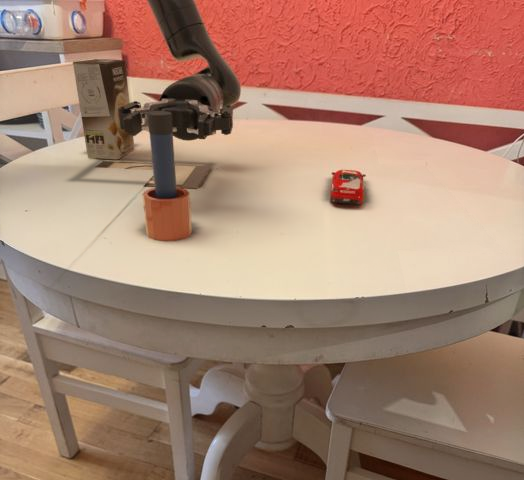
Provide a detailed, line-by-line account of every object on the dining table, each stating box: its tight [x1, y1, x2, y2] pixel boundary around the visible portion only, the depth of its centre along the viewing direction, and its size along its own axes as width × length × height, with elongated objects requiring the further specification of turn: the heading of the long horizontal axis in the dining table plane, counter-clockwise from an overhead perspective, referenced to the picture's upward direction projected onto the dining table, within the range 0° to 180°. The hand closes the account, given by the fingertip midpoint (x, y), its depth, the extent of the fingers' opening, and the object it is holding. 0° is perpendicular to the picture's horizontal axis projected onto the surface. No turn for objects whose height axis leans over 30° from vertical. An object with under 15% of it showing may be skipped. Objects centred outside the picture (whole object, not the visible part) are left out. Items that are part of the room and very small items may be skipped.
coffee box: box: [72, 58, 135, 160], centre depth 94 cm, size 9×6×16 cm
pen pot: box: [141, 187, 193, 242], centre depth 63 cm, size 6×6×6 cm
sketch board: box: [95, 160, 212, 190], centre depth 86 cm, size 20×14×1 cm
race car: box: [329, 169, 367, 205], centre depth 79 cm, size 13×5×4 cm, turn 170°
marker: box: [147, 111, 177, 199], centre depth 60 cm, size 3×3×14 cm
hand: (165, 128), depth 59 cm, fingers open, 8 cm apart
